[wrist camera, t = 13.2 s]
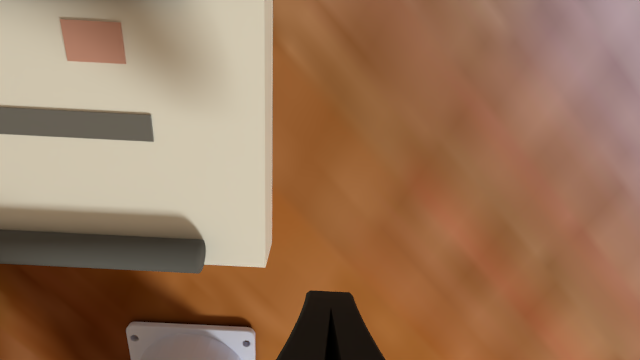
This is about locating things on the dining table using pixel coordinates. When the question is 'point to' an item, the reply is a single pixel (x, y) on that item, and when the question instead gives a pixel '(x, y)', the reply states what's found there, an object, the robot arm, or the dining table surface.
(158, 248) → the dark grey guard rails
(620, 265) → the dining table surface
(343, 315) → the robot arm
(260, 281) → the dining table surface
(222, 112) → the panel
